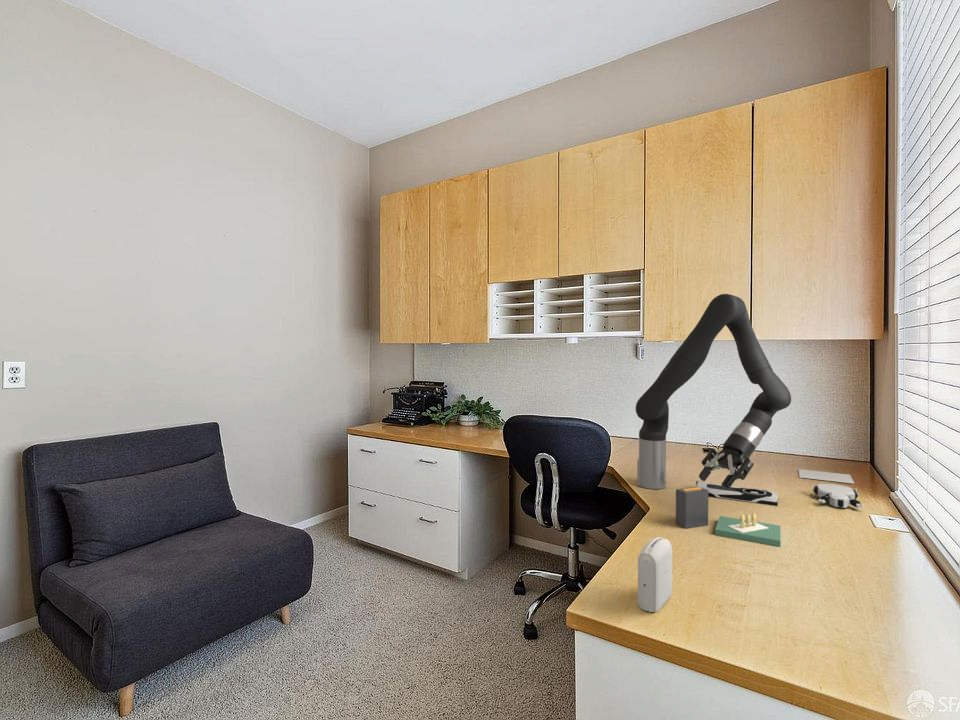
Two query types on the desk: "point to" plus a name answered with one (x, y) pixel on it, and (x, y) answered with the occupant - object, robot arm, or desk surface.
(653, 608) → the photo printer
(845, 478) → the paper stack
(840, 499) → the robot toy
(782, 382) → the robot arm
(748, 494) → the graphics card
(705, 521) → the block
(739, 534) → the header board
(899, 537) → the desk surface
